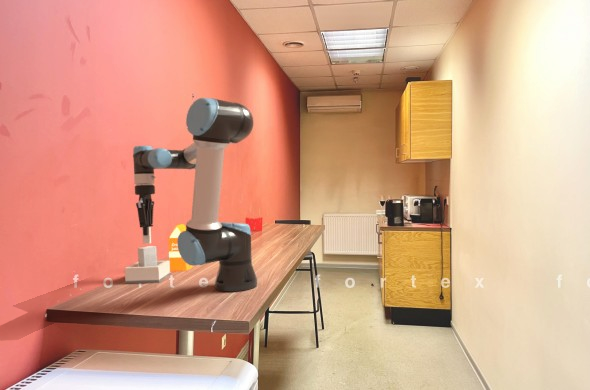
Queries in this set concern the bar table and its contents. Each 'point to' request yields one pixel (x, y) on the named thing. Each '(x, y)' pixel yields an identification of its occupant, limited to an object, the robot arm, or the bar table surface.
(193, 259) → the robot arm
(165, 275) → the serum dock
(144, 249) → the skincare box
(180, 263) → the orange juice
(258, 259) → the bar table surface
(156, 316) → the bar table surface
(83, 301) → the bar table surface
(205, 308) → the bar table surface
